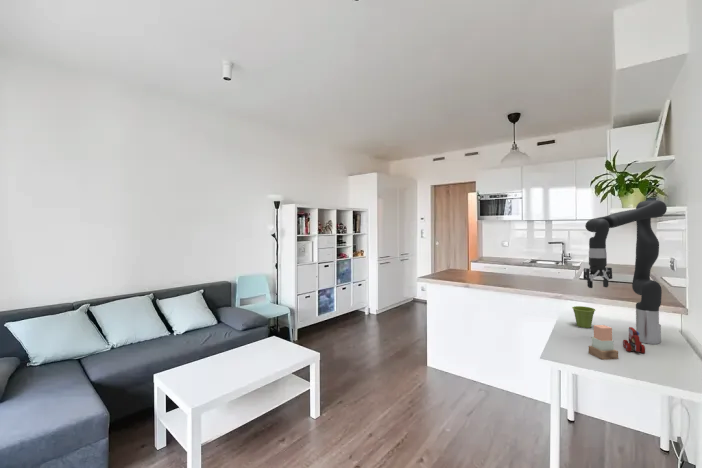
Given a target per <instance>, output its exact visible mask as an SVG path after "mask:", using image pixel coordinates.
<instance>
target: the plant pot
mask: <svg viewBox="0 0 702 468" xmlns="http://www.w3.org/2000/svg"><path fill="white" fill-rule="evenodd" d="M571 309H573V313H574V317H575V323H576V326H577V327H578V328H583V329H590V328H592V323H593V318H594V314H595V311H596V308H593V307H589V306H581V305H578V306H577V305H576V306H571Z"/></svg>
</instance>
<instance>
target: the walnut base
mask: <svg viewBox="0 0 702 468" xmlns="http://www.w3.org/2000/svg"><path fill="white" fill-rule="evenodd" d="M588 354H590V355H592V356H593V357H596V358H597V359H600V360H602V361H603V360H604V361H605V360H606V361H607V360H618V359H619V351H618V350H616V349H614V350H607V351H601V350H599V349H597V348H595V347H592V345H589V346H588Z"/></svg>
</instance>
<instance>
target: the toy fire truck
mask: <svg viewBox="0 0 702 468" xmlns="http://www.w3.org/2000/svg"><path fill="white" fill-rule="evenodd" d="M638 335H639V332H637V331H636V328H634V327H632V326H629V327H628V339H623V340H622V346H623V348H625V351H626V352H631V351H635V352H638V353H640V354H645V353H646V347H645V345H644V344H643V342H640V340H639V336H638Z"/></svg>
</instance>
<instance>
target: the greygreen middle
mask: <svg viewBox="0 0 702 468" xmlns="http://www.w3.org/2000/svg"><path fill="white" fill-rule="evenodd" d="M614 345H615V343H614V340H613V339H612V341H601V340H598V339H596V338H594V336H592V337H591V346H592V347H595V348H597V349H599V350H601V351H607V350H615V348H614V347H615V346H614Z"/></svg>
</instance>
